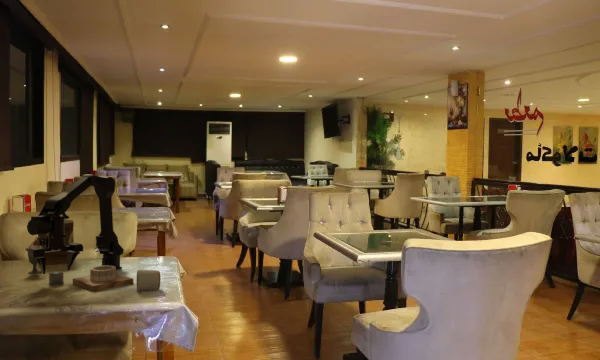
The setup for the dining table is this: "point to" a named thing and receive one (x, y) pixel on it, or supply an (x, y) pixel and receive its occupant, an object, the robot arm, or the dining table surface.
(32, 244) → the sundae
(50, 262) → the wooden container
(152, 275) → the ceramic mug
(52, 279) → the smooth gray stone
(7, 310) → the dining table surface
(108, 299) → the dining table surface
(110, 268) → the brown board with ring
